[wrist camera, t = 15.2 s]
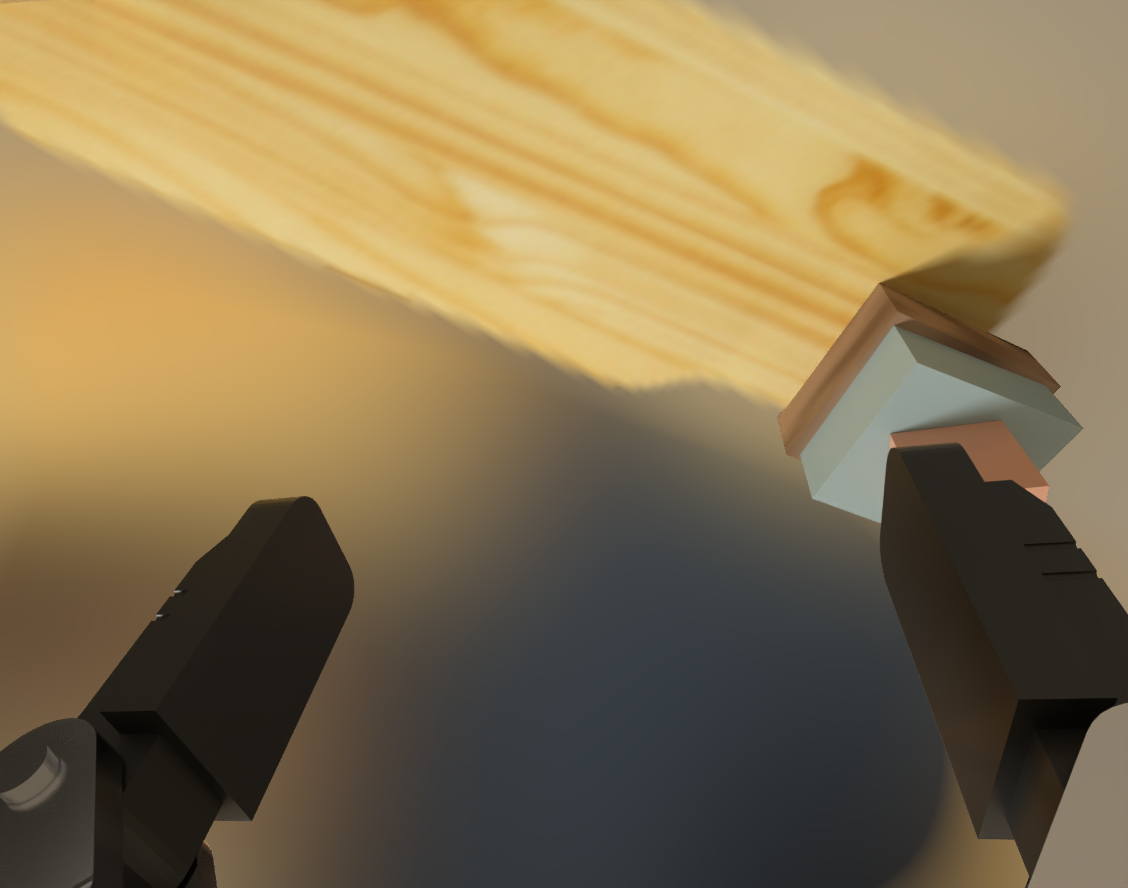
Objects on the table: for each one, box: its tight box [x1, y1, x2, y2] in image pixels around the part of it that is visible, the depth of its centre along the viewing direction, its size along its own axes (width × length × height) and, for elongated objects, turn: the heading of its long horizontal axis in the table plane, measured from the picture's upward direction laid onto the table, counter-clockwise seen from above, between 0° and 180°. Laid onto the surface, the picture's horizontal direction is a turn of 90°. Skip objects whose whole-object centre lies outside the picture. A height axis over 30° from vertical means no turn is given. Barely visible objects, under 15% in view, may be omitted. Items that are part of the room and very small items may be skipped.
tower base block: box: [777, 283, 1060, 461], centre depth 40 cm, size 10×10×4 cm
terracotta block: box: [889, 420, 1049, 503], centre depth 33 cm, size 5×5×5 cm
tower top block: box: [800, 325, 1083, 523], centre depth 37 cm, size 9×9×4 cm
